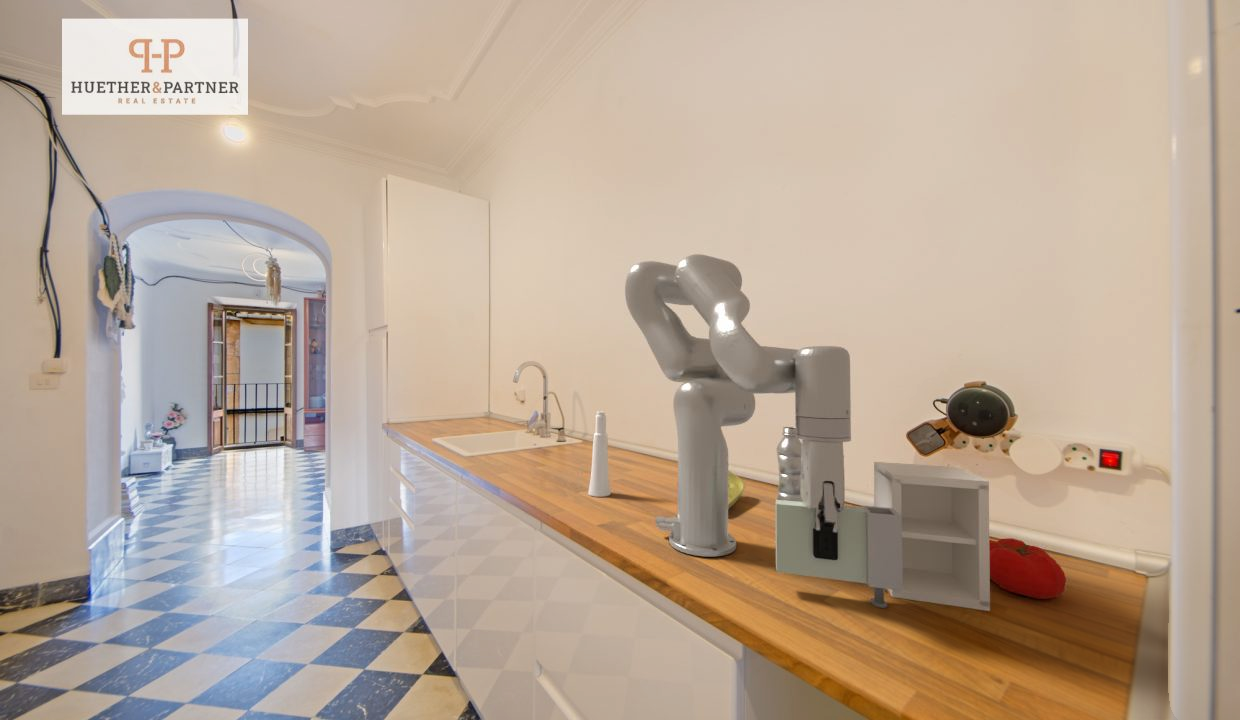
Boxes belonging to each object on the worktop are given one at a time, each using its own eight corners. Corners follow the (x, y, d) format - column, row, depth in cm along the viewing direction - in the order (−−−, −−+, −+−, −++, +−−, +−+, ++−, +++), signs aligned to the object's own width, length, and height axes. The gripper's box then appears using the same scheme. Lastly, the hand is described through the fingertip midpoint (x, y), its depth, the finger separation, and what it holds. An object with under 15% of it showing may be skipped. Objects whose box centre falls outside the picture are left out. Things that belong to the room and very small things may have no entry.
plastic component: (723, 508, 99) (686, 483, 103) (710, 534, 101) (675, 508, 106) (750, 484, 115) (718, 463, 120) (739, 507, 117) (707, 485, 122)
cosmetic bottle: (583, 493, 117) (585, 411, 118) (601, 489, 121) (603, 410, 122) (597, 498, 113) (598, 413, 113) (615, 494, 117) (616, 412, 117)
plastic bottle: (790, 518, 100) (790, 430, 100) (770, 509, 106) (770, 426, 107) (812, 515, 102) (812, 429, 103) (791, 506, 108) (791, 425, 109)
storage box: (893, 577, 64) (892, 508, 64) (902, 590, 60) (901, 516, 60) (775, 562, 68) (775, 498, 69) (777, 574, 64) (776, 505, 65)
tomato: (1003, 601, 64) (1002, 556, 64) (963, 569, 75) (962, 530, 75) (1084, 610, 62) (1083, 563, 62) (1031, 576, 73) (1030, 536, 73)
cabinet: (873, 606, 62) (872, 478, 62) (851, 565, 75) (851, 460, 76) (1005, 626, 57) (1004, 488, 58) (957, 579, 71) (956, 467, 71)
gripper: (791, 422, 74) (791, 532, 73) (801, 434, 59) (802, 573, 58) (839, 424, 72) (840, 538, 71) (863, 437, 56) (865, 582, 56)
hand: (823, 553), depth 65 cm, fingers closed on storage box, 2 cm apart
